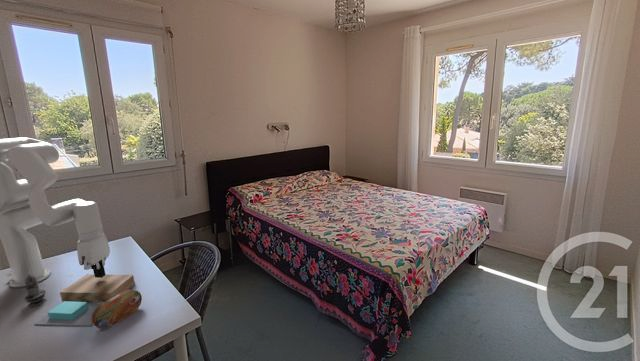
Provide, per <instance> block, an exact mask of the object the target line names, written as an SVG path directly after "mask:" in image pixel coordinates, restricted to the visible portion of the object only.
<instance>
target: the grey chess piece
mask: <svg viewBox="0 0 640 361" xmlns="http://www.w3.org/2000/svg"><path fill="white" fill-rule="evenodd" d="M25 283H26V286H24V287H25V289H26V290H27V294H26V295H25V296H24V297H23V300H25V301H26V303H28V304H27V308H30V309H32V308H36V307H40V306H41V305H43V304H45V303H46V302H47V301H48V300H47V298H46V297H45V295H46V290H44V289H40V287H39V284H40V282H37V281H36V278H35V276H30V275H28V277H27V278H26V279H25Z"/></svg>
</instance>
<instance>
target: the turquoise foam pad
mask: <svg viewBox="0 0 640 361" xmlns="http://www.w3.org/2000/svg"><path fill="white" fill-rule="evenodd" d="M87 303H88V302H72V301H64V302H62V301H61V303H59V304H58V305H57V306H55V307H54V308H52V309H51V310H49V311H47V315H48V316H49V319H68V320H74V319H75V318H76V317H77V316H79V315H80V314H81V313H83V312H84V311H85V310H87V309H88V304H87Z"/></svg>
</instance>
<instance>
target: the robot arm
mask: <svg viewBox="0 0 640 361" xmlns="http://www.w3.org/2000/svg"><path fill="white" fill-rule="evenodd" d="M59 158H60V154H59V151H58V149H57V148H56V146H54V145H53V144H51V143H49V142H47V141H43V140H39V139H36V138H30V137H24V136H23V137H22V136H21V137H11V138H0V208H7V207H11V206H15V207H14V208H9V209H6V210H3V211H1V212H0V241H1V243H2V246H3V249H4V251H5V254H6V255H5V256H6V258H7V261H8V262H7V263H8V265H9V268H10V272H8V273H7V275H6V276H7V277H11V278H12V279H11V280H10V281H9V286H10V287H11V288H22V287H26V283H25V279H26V278H27V277H28V275H30V276H35V278H36V281H37V283H40V282H42V281H44V280H46V279H47V278H48V277H50V276H51V275H52V270H50V269H49V268H45V265H44V261H43V258H42V254H41V252H40V248H39V244H38V240H37V238H36V237H35V235H34V234H32V233H30V232H28V231H27V230H28V229H29V228H33V227H36V226H38V225H41V224H45V225H47V226H49V227H57V226H60V225H63V224H66V223H69V222H72V221H74V224H75V229H76V233H77V236H78V241H77V244H76V251H77V253H76V254H77V258H78V264H79V265H80V266H83V270H86V271H88V270H93V274H94V276H95V277H97V278H102V277H103V276H105V275H107V273H106V271H105V267H104V266H105V265H106V260H107V258H109V257H110V254H111V250H110V245H109V244H110V243H109V241H108V239H107V236H106V234H105V232H104V229H103V228H104V226H103V224H102V218H101V214H100V208H99V206H98V203H97V202H96V201H93V200H84V199H82V198H74V199H73V198H72V199H70V200H66V201H65V200H64V201H62V202H59V203H55V204H52V205H50V204H49V202H48V199H47V196H46V193H45V192H46V191H45V190H47V188H49V187H50V186H52V185H53V184H55V182H57V180H58V179H59V175H58V173H57V172H56V171H55V170H54V168H53V167H52V166H51V165H50V164H53V163H56V162H57V161H58V160H59ZM5 162H10V163H11V165H12V166H13V167H14V168H15V170H17V172H18V173H19V174H20V176H22V178H20V179H16V175H15V173H14V170H13V169H12V168H11V167H10V166H8V165H7V164H6V163H5ZM23 203H27V204H24V205H21V206H17V207H16V205H20V204H23Z"/></svg>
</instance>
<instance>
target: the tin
mask: <svg viewBox="0 0 640 361" xmlns="http://www.w3.org/2000/svg"><path fill="white" fill-rule="evenodd" d="M142 297H143V296H142V294H141V292H140V291H138V290H136V289H128V290H125V291H123V292H121V293H119V294H118V295H116V296H114V297H112V298H111V299H109V300H107V301H105V302H101V303H102V304H100V305H99V306H98V307H97V308H96V309H95V310H94V312H93V314H92V323H93V325H92V326H94V327H96V328H98V329H99V330H107V329H110V328H112V327H114V326H115V325H117V324H118V323H120V322H122V321H123V320H125V319H126V318H127V317H129V316H131V315H132V314H134V313H135V312H137V310H138V309H139V308H140V306H141V304H142Z"/></svg>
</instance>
